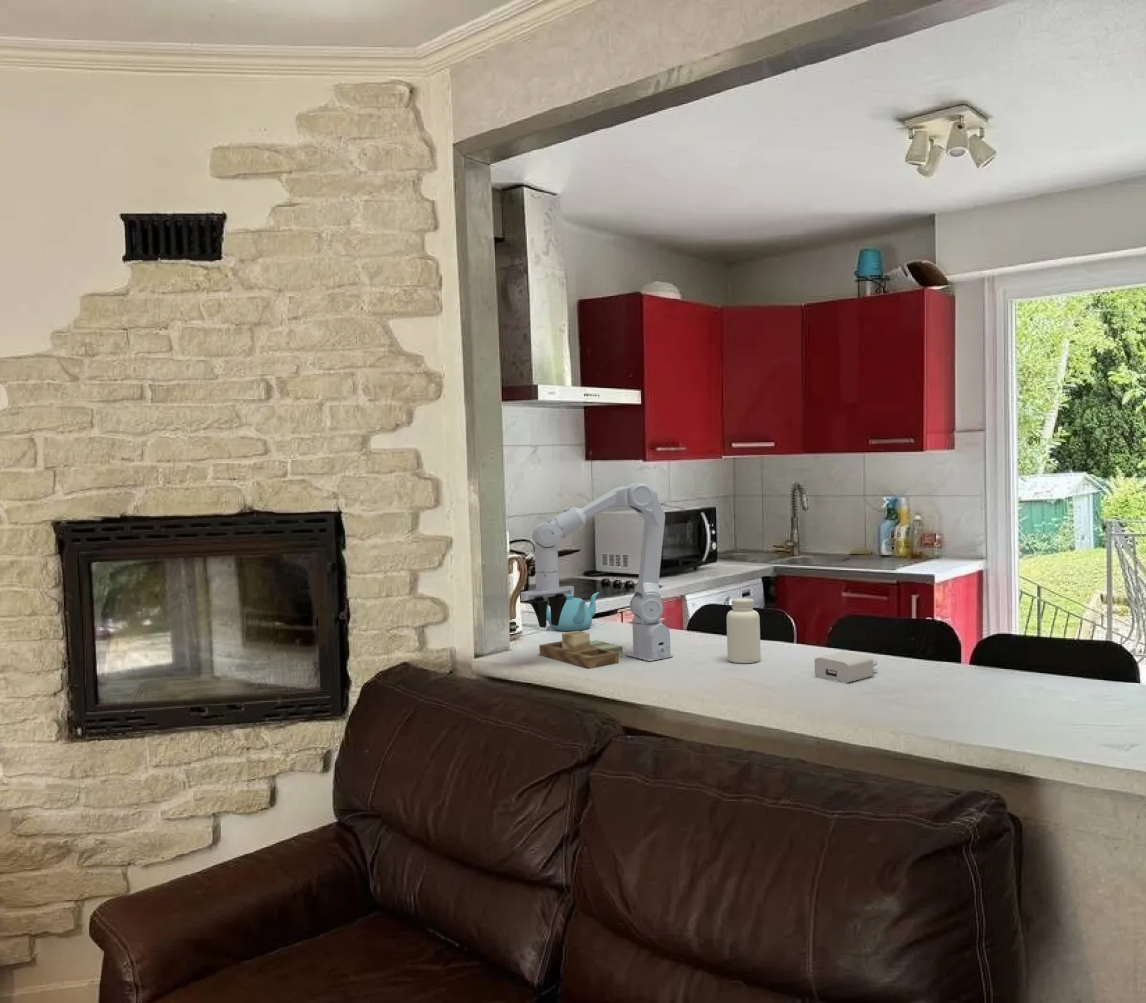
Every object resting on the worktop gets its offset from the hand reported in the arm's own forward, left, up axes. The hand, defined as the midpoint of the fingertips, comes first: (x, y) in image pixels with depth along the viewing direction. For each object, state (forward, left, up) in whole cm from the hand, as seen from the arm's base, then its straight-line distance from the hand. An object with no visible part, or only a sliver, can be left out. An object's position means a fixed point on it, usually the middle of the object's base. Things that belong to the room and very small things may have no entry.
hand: (548, 626), depth 234 cm
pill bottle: (-30, -37, -10) cm, 49 cm away
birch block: (0, -8, -7) cm, 11 cm away
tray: (0, -11, -9) cm, 15 cm away
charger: (-57, -44, -10) cm, 73 cm away
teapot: (+35, -31, -10) cm, 48 cm away
